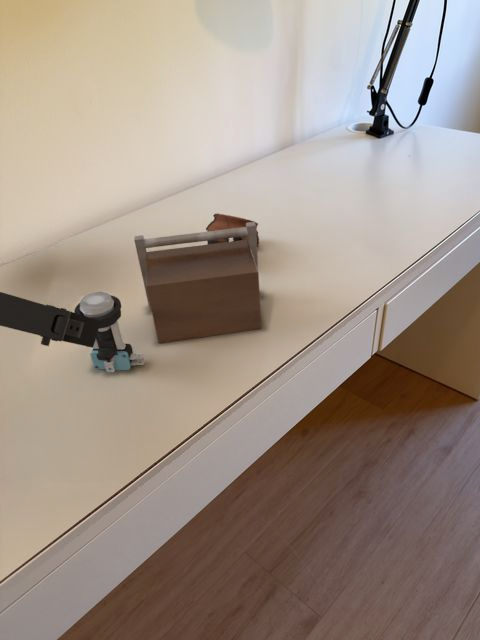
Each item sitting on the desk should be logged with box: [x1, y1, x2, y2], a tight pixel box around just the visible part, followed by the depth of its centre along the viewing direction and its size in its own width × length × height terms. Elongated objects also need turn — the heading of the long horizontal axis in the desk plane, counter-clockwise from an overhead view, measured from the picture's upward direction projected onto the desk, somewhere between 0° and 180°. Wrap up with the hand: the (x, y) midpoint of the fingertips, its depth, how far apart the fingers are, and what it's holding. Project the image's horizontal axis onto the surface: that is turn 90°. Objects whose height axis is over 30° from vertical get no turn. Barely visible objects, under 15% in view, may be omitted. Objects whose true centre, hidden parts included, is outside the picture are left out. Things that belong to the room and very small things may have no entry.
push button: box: [73, 291, 146, 373], centre depth 64 cm, size 7×5×10 cm
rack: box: [133, 221, 262, 344], centre depth 71 cm, size 9×16×12 cm, turn 100°
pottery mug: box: [205, 213, 260, 248], centre depth 86 cm, size 12×10×8 cm
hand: (41, 318), depth 53 cm, fingers open, 13 cm apart
